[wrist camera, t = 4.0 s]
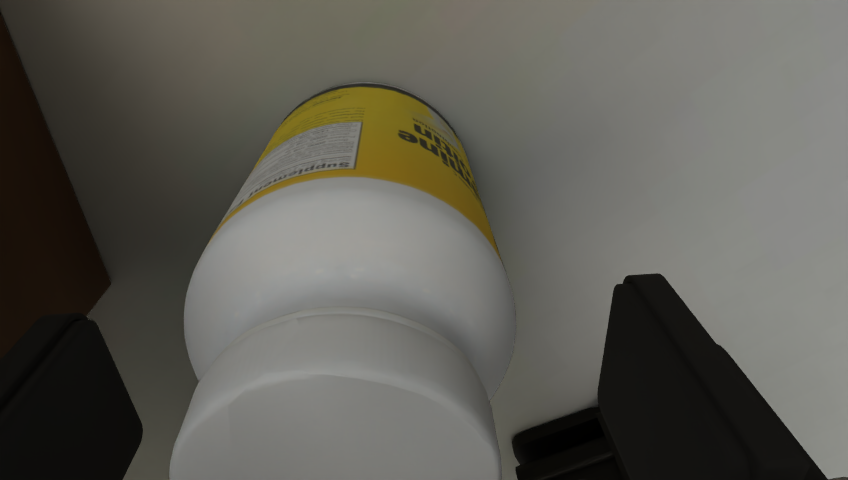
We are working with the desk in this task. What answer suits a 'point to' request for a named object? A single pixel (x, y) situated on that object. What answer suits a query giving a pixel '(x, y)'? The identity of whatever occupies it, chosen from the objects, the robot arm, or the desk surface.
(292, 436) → the pill bottle
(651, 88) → the desk surface
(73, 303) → the stand
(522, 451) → the end cap
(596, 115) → the desk surface
